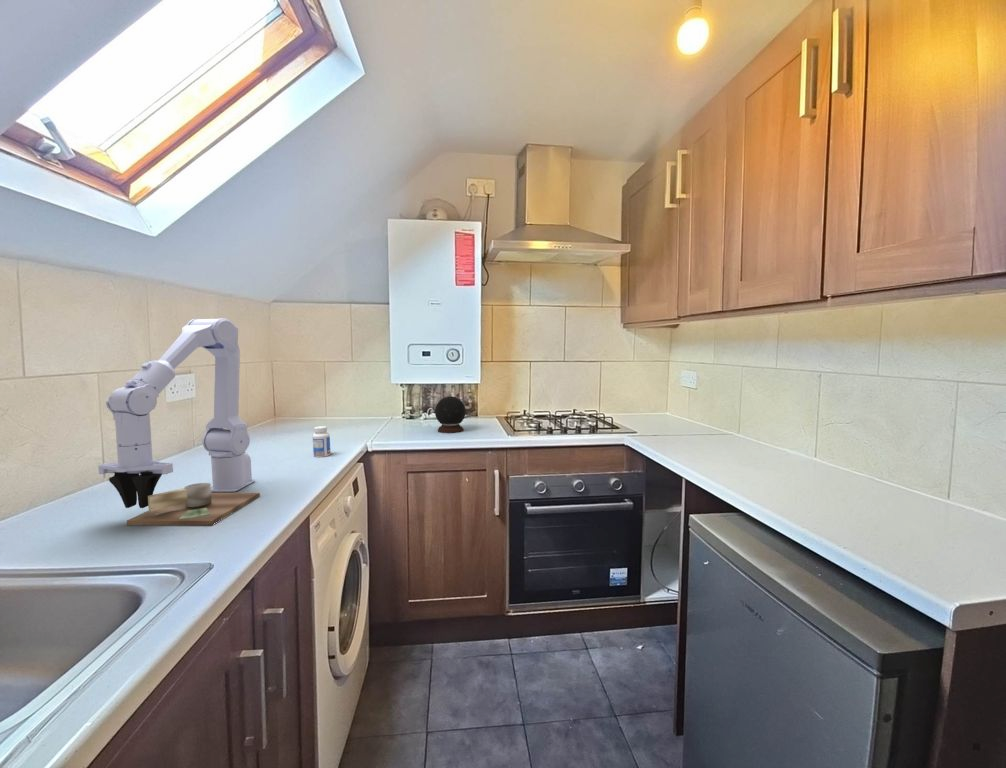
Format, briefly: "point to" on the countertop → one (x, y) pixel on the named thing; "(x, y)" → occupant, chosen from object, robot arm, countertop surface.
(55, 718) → the countertop surface
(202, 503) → the beige elongated block piece
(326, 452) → the pill bottle
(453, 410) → the black ball on stand
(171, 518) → the base
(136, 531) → the countertop surface
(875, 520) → the countertop surface
